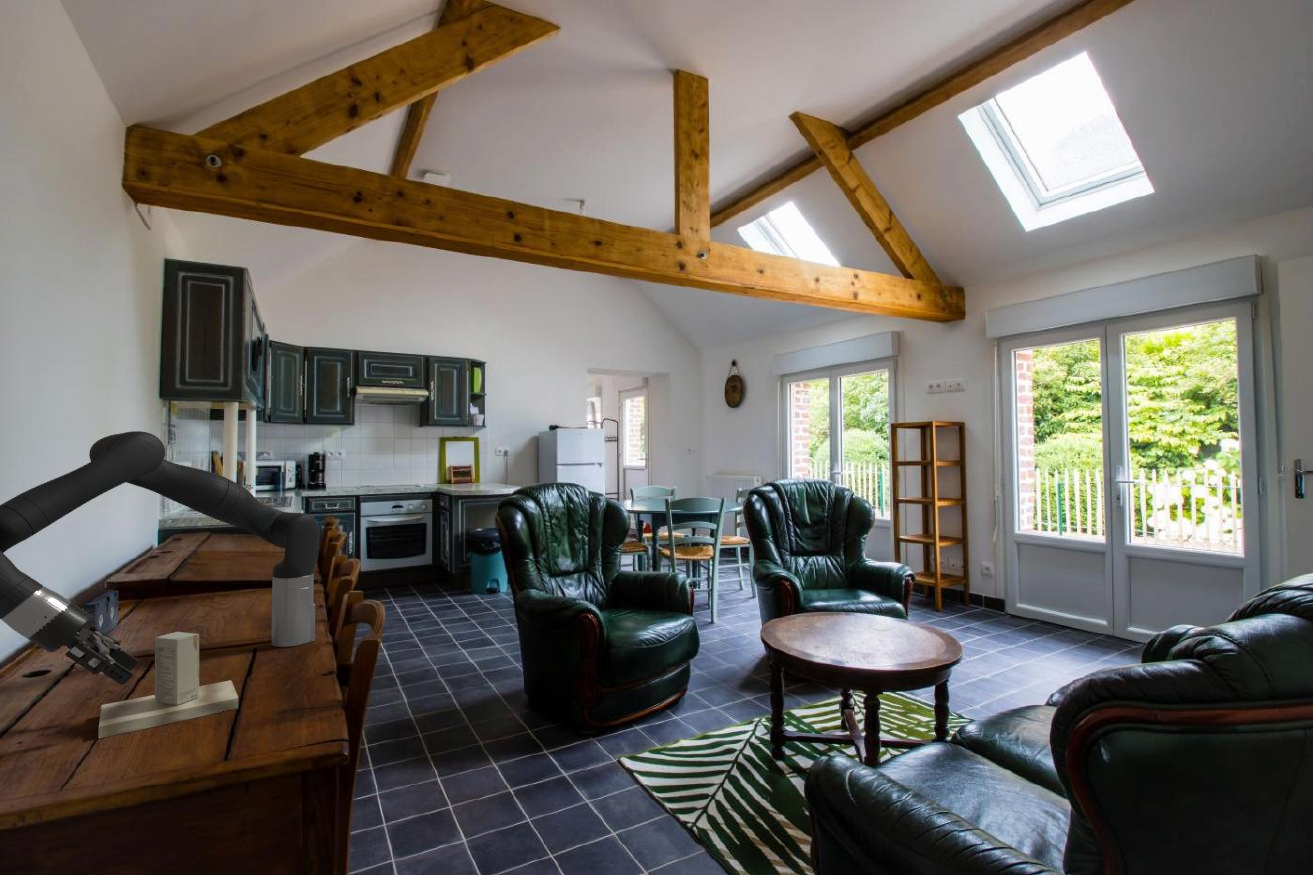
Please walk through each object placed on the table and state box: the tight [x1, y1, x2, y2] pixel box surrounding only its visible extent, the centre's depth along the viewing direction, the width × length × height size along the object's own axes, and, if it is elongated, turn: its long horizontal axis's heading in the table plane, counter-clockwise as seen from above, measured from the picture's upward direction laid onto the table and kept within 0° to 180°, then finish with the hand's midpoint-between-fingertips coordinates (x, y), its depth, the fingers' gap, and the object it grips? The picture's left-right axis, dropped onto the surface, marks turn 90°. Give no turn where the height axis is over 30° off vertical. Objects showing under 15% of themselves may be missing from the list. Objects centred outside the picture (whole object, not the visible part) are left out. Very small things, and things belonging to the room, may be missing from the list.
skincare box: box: [154, 631, 200, 705], centre depth 119 cm, size 6×4×12 cm
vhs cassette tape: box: [83, 590, 120, 635], centre depth 168 cm, size 18×3×10 cm, turn 25°
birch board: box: [98, 680, 239, 739], centre depth 118 cm, size 20×12×2 cm, turn 130°
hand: (131, 673), depth 115 cm, fingers open, 8 cm apart
